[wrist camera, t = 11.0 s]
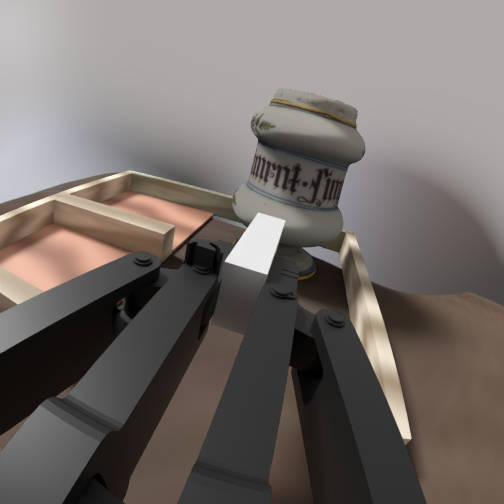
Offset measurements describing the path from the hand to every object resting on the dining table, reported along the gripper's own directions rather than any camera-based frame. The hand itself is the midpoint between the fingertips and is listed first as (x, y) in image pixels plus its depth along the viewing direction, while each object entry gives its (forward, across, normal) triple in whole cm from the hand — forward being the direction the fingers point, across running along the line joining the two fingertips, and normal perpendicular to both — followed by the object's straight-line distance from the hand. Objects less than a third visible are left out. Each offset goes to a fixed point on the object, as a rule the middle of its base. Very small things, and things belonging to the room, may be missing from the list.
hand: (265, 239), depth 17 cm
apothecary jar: (+16, +1, -8) cm, 18 cm away
